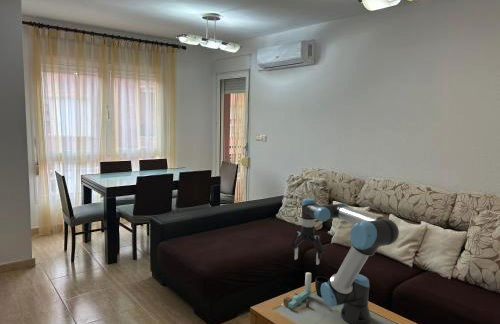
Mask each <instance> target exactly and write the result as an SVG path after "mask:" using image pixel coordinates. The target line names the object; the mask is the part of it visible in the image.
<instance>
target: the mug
mask: <svg viewBox="0 0 500 324" xmlns="http://www.w3.org/2000/svg"><path fill="white" fill-rule="evenodd" d="M329 280H330V278H327V277H325V276H317V277H315V280H314V281H315V282H314V286H315V293H316V295H317V296H318V297H321V298H322V295H321V285H322V284H323V283H325V282H328V281H329Z"/></svg>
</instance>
